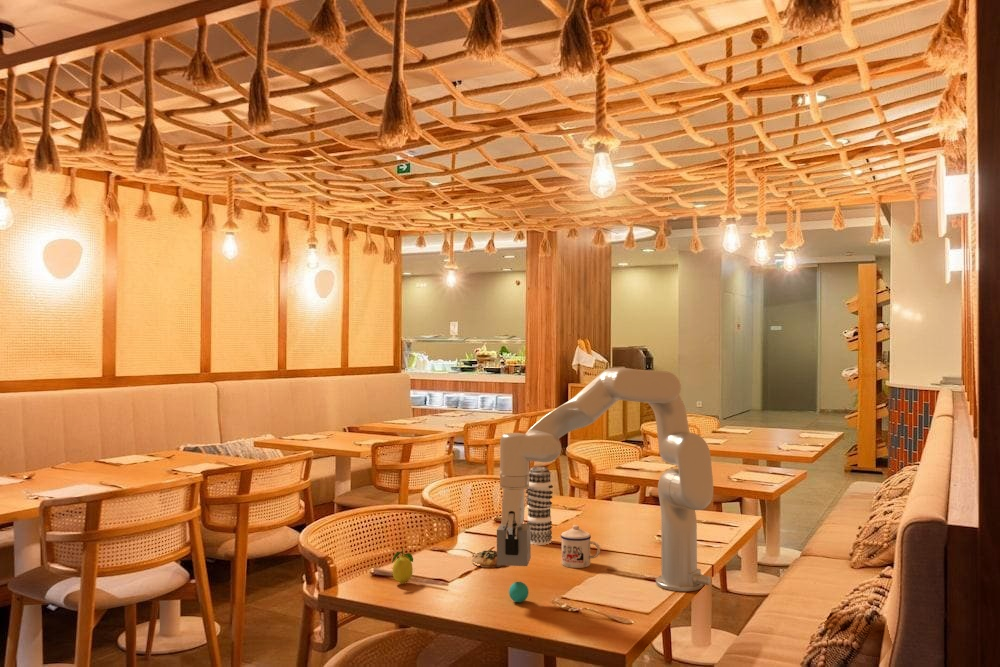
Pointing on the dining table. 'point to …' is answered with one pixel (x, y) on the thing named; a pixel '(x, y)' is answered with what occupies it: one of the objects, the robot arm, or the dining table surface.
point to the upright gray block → (523, 547)
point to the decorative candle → (539, 505)
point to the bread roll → (486, 559)
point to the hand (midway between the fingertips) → (514, 550)
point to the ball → (518, 592)
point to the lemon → (402, 567)
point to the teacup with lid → (577, 548)
